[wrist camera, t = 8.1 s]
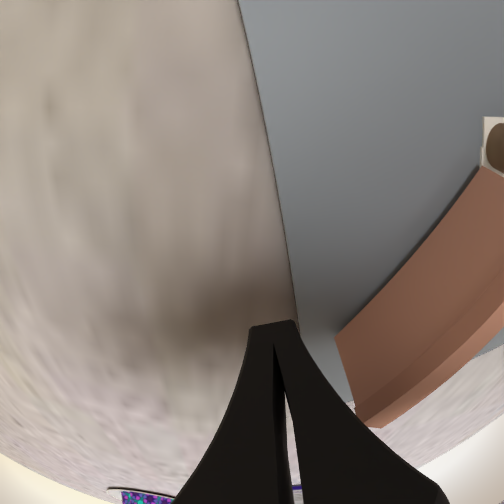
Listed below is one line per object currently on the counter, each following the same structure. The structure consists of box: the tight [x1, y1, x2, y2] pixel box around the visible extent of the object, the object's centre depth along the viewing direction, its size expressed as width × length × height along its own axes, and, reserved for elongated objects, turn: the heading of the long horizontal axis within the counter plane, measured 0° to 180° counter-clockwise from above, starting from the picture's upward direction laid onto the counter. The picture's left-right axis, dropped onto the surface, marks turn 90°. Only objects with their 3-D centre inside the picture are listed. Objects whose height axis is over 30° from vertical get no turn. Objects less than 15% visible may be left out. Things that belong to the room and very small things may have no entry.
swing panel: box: [334, 166, 504, 428], centre depth 8 cm, size 9×1×4 cm, turn 147°
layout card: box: [238, 0, 504, 402], centre depth 10 cm, size 17×19×1 cm
